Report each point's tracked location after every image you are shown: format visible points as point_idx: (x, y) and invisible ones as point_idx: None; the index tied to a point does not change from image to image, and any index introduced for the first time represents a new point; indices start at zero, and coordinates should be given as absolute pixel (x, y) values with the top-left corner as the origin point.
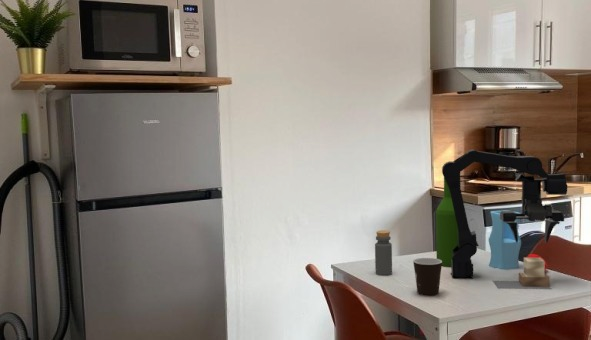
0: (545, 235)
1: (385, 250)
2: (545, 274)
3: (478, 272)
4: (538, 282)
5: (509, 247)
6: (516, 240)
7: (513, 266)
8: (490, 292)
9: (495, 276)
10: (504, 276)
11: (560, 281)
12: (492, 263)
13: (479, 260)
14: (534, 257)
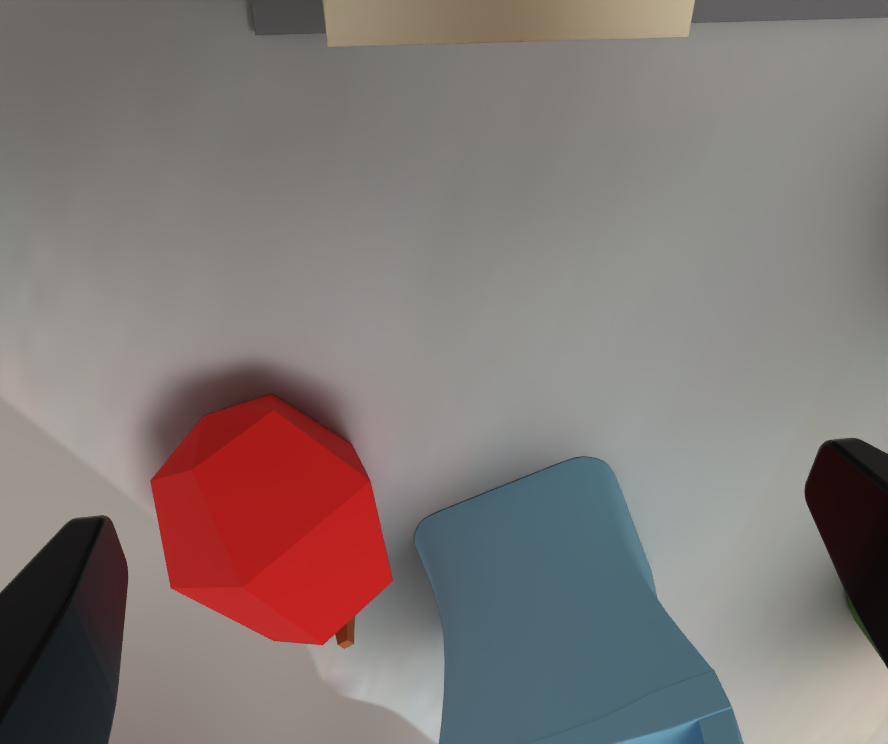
0: (83, 730)
1: None
2: None
3: (838, 373)
4: None
5: (587, 687)
6: (885, 462)
7: (485, 522)
8: None
9: (746, 251)
10: (652, 261)
11: (19, 95)
12: (647, 569)
13: None
14: (298, 558)
